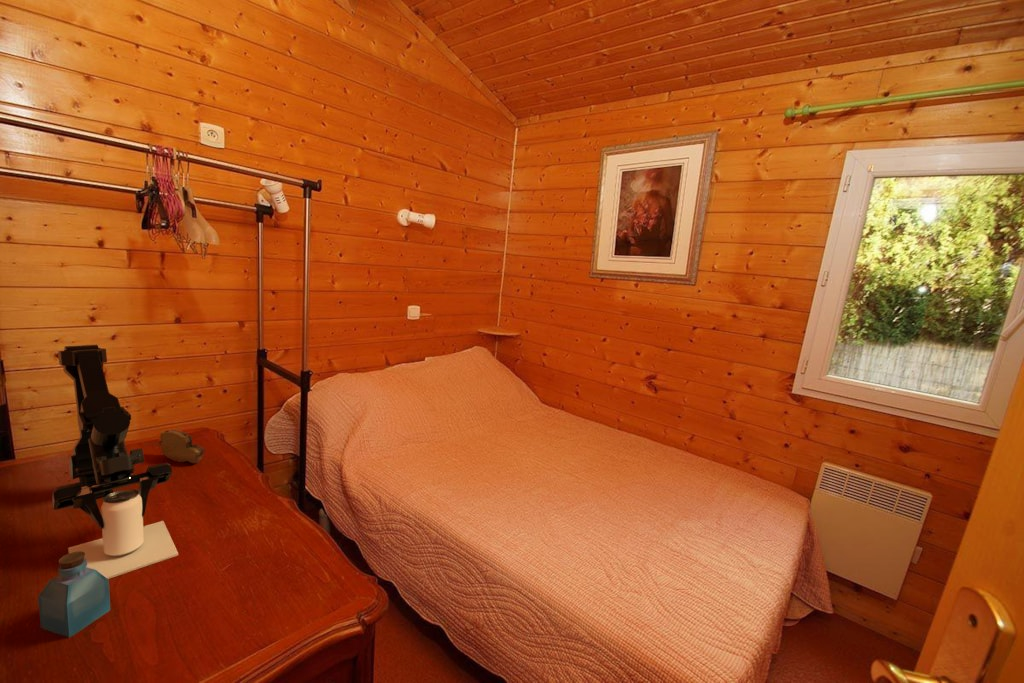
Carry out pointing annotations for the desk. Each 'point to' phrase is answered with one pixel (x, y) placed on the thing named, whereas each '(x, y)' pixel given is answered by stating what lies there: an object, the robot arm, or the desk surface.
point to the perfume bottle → (73, 597)
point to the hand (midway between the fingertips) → (123, 522)
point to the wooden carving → (180, 447)
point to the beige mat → (148, 553)
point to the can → (122, 522)
